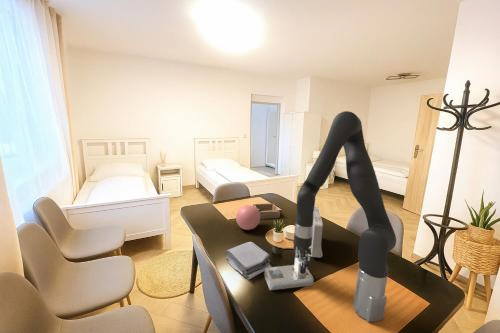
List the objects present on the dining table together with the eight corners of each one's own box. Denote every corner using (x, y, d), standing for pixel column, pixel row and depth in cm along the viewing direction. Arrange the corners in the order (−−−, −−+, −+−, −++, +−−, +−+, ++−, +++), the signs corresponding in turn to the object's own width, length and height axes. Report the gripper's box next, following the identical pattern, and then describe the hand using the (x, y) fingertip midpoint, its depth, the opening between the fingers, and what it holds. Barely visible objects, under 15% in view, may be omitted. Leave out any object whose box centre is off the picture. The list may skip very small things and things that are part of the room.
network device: (323, 262, 112) (327, 225, 108) (305, 260, 114) (309, 223, 110) (318, 237, 136) (322, 206, 133) (304, 235, 138) (306, 205, 134)
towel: (248, 251, 120) (249, 238, 119) (272, 269, 106) (273, 254, 104) (224, 261, 111) (224, 247, 109) (246, 282, 97) (247, 266, 95)
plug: (305, 281, 98) (307, 260, 96) (297, 282, 97) (298, 261, 95) (301, 275, 102) (303, 255, 100) (293, 275, 101) (295, 256, 99)
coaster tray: (279, 217, 163) (279, 211, 162) (257, 219, 160) (257, 212, 159) (272, 209, 179) (273, 203, 178) (252, 210, 176) (253, 204, 175)
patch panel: (312, 286, 96) (313, 277, 95) (269, 291, 92) (270, 282, 91) (303, 271, 105) (304, 263, 104) (263, 275, 101) (264, 267, 100)
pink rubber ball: (268, 226, 149) (269, 204, 146) (248, 237, 135) (249, 212, 132) (251, 219, 159) (251, 198, 156) (230, 228, 144) (231, 206, 141)
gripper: (319, 241, 89) (316, 279, 92) (304, 225, 103) (301, 258, 106) (302, 242, 87) (298, 281, 91) (288, 226, 101) (286, 260, 105)
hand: (300, 269), depth 98 cm, fingers open, 4 cm apart
